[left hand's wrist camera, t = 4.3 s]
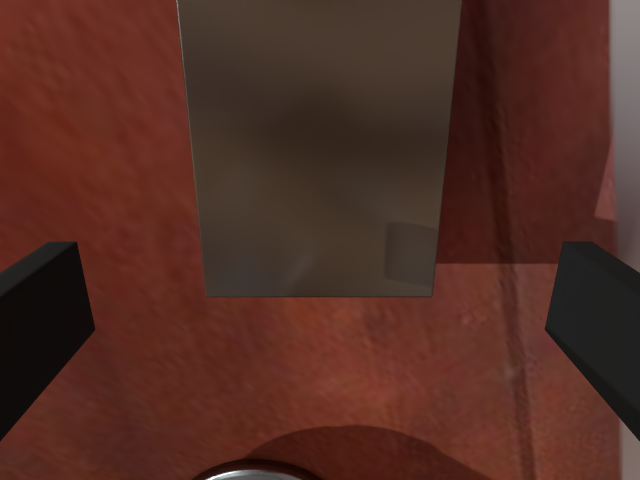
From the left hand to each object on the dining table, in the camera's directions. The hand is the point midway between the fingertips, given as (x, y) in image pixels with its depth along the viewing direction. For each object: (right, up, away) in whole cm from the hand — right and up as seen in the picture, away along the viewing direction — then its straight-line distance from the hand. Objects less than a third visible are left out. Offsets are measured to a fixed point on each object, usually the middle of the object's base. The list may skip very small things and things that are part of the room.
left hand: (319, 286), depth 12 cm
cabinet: (0, +10, +14) cm, 17 cm away
